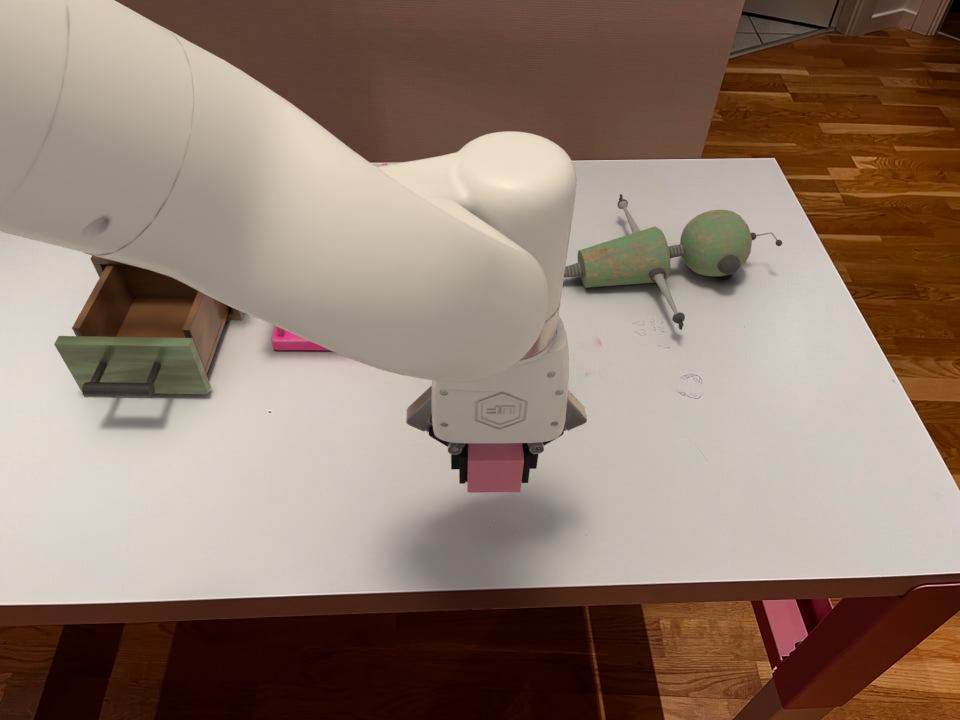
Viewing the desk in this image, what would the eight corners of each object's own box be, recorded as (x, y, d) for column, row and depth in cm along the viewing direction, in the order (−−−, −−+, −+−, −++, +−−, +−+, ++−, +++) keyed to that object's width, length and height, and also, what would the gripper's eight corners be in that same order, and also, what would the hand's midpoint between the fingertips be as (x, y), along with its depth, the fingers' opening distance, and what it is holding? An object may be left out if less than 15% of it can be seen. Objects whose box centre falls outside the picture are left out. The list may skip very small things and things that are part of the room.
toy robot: (722, 367, 84) (740, 312, 78) (533, 292, 93) (535, 238, 86) (773, 269, 95) (793, 214, 89) (600, 210, 104) (607, 157, 98)
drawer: (197, 425, 76) (176, 378, 70) (65, 423, 76) (35, 376, 70) (239, 302, 88) (225, 254, 83) (127, 300, 88) (105, 252, 83)
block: (520, 492, 63) (524, 460, 59) (467, 493, 62) (468, 461, 59) (517, 449, 66) (520, 417, 63) (466, 450, 66) (467, 417, 62)
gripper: (376, 352, 48) (392, 507, 61) (634, 352, 49) (595, 505, 62) (383, 278, 53) (396, 436, 66) (616, 278, 54) (584, 434, 67)
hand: (493, 468), depth 64 cm, fingers closed on block, 4 cm apart
